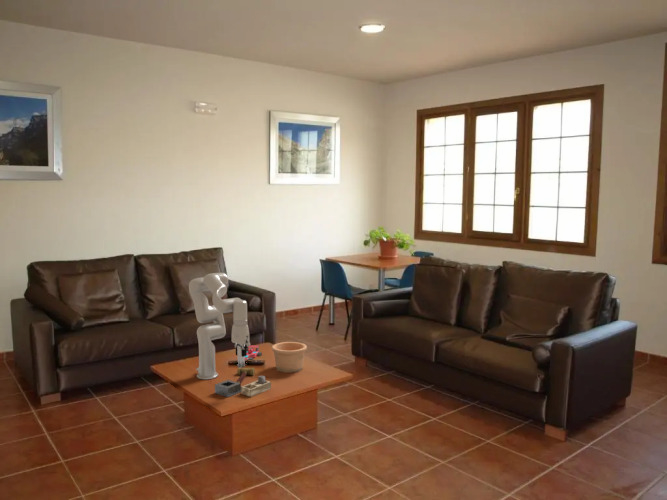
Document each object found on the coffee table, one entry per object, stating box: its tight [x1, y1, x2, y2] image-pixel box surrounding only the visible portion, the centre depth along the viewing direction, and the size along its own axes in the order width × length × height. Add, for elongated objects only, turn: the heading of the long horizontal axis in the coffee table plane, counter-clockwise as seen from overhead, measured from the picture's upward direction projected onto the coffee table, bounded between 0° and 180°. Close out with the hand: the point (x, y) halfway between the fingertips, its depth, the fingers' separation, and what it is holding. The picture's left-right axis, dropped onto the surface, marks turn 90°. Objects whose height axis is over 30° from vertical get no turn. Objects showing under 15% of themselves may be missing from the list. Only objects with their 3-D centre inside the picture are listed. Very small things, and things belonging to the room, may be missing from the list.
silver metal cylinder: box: [236, 344, 246, 368], centre depth 316 cm, size 4×4×12 cm
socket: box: [214, 379, 242, 398], centre depth 319 cm, size 10×10×5 cm
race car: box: [245, 345, 263, 360], centre depth 382 cm, size 14×6×25 cm
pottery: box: [271, 341, 308, 374], centre depth 361 cm, size 22×22×14 cm
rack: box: [240, 375, 272, 398], centre depth 321 cm, size 8×16×7 cm, turn 144°
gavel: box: [236, 367, 256, 384], centre depth 342 cm, size 21×5×10 cm
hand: (241, 355), depth 316 cm, fingers closed on silver metal cylinder, 4 cm apart
